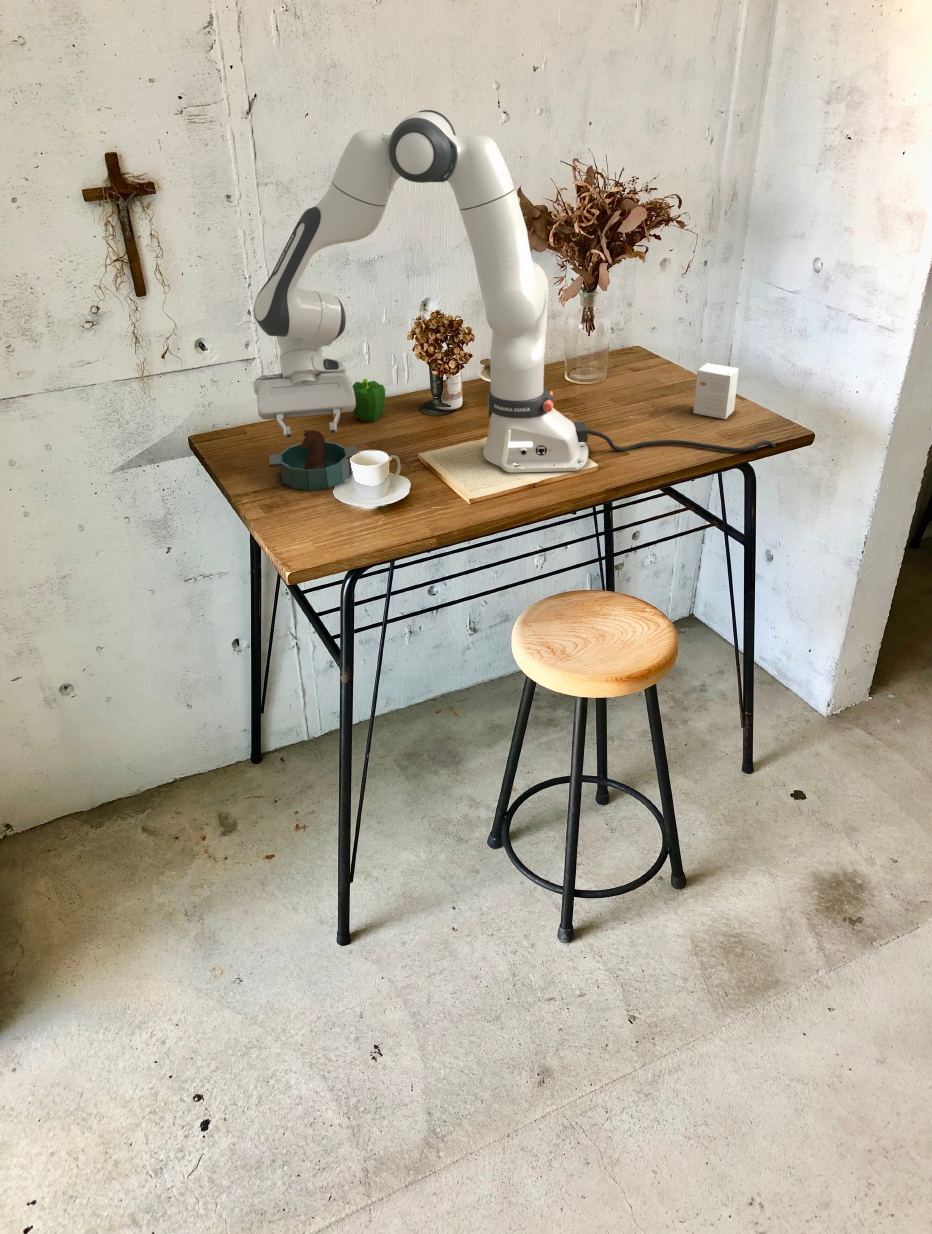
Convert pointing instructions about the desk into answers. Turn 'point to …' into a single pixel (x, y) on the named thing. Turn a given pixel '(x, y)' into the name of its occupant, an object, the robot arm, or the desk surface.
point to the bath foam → (452, 392)
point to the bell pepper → (368, 400)
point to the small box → (715, 390)
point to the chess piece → (314, 449)
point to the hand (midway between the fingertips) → (310, 434)
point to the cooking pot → (314, 478)
